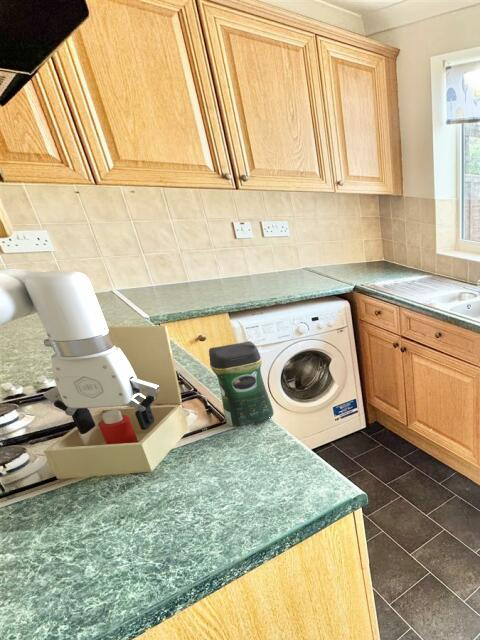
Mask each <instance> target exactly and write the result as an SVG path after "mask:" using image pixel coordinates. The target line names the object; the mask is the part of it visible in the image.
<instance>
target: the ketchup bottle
mask: <svg viewBox="0 0 480 640" xmlns="http://www.w3.org/2000/svg"><path fill="white" fill-rule="evenodd" d="M102 418H103V420H102V421H100V422H99V423H98V425H99V428H100V430H101V433H102V435H103V437H104V440H105V442H106V445H108V444H123V443H138V440H137V437H136V434H135V432H134V429H133V427H132V424H131V421H130V419H129V417H128V416H126V415H121V413H120V411H119V410H113V411H108V412H105V413H103V414H102Z"/></svg>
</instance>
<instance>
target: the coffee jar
mask: <svg viewBox="0 0 480 640" xmlns="http://www.w3.org/2000/svg"><path fill="white" fill-rule="evenodd" d="M208 356H209V366H210V369H211V371H212V372H213V373H214V374H215V376H216V377H217V382H218V385H219V389H220V394H221V395H220V396H221V402H222V410H223V415H224V419H225V422H226V424H227V425H229V426H230V427H234V428H235V427H236V428H238V427H244V426H248V425H252V424H254V425H256V424H259V423H263V422H266V421H268V420H270V419H271V418H272V417H273V416H274V414H275V412H274V408H273V405H272V403H271V400H270V397H269V394H268V392H267V388H266V386H265V385H266V384H265V383H264V380H263V376H262V371H261V367H262V357H261V354H260V352H259V349H258V347H257V345H256V344H255V343H253V342H252V341H251V340H248V341H244V342H237V343H231V344H226V345H222V346H221V345H219V346H215V347H210V348H209V349H208ZM269 417H270V418H269Z"/></svg>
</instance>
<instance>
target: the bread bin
mask: <svg viewBox="0 0 480 640" xmlns="http://www.w3.org/2000/svg"><path fill="white" fill-rule="evenodd" d="M150 408H151V411H152V414H153V416H154V423H153V424H152V425H151V426H150V427H149V428H148V429H147V430H142V429H141V428H140V425H139V422H138V420H137V417H136V415H135V412H136V411H137V409H135V408H133V407H132V406H128V407H127V406H123V407H101V408H99V409H98V410H97V411H95V412H94V413H93V414H91V416H92V418H93V420H94V423H95V427H94V428H92V429H91V430H90V431H89V432H87V433H86V434H80V432H79V430H78V428H77V427H76V426H75V427H73V428H72V429H71V430H69V431H68V432H67V433H66V434H64V435H62V437H60V438H59V439H57V440H55V441H54V442H53V443H52V444H51V445H49V446H48V447H47V448H45V449H43V453H44V456H45V458H46V459H47V461H48V463H49V465H50V467H51V469H52V471H53V474H54V475H55V477H56V479H57V480H63V479H74V478H75V479H76V478H88V477H100V476H101V477H102V476H111V475H125V474H139V473H150V472H151V473H152V472H153V471H154V470H155V469H156V468H157V467H158V465H159V464H160V463H161V462H162V461H163V460H164V459H165V457H166V456H168V454H169V453H170V452H171V450H173V448H174V447H175V446H176V445H177V444H178V442H179V441H180V440H181V439H182V438H183V437H184V435H186V434H187V432H188V431H189V430H190V426H189V423H188V420H187V417H186V413H185V411H184V406H183V404H164V405H150ZM113 410H119V411H120V413H121V415H126V416H128V417H129V419H130V421H131V424H132V427H133V429H134V432H135V434H136V437H137V440H138V443H123V444H108V445H106V442H105V440H104V437H103V435H102V433H101V430H100V428H99V425H98V423H99V422H100V421H102V420H103V418H102V414H103V413H105V412H108V411H113Z"/></svg>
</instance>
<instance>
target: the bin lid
mask: <svg viewBox="0 0 480 640" xmlns="http://www.w3.org/2000/svg"><path fill="white" fill-rule="evenodd" d="M107 327H108V330H109V332H110V335H111V337H112V340H113V342H114V345H115V347H119V348H120V349H121V351H122V352H123V354H124V355H125V357H126V358H127V360H128V361H129V363H130V365H131V367H132V369H133V371H134V373H135V375H136V377H137V379H140V380H143V381H146V382H149V383H152V384H156V385H158V386H159V387H160V388H159V391H158V394H157V398H156V399H155V400H154V401H153V403H152V404H151V405H173V404H181V403H183V400H182V394H181V390H180V385H179V384H180V383H179V380H178V379H179V378H178V374H177V369H176V365H175V360H174V354H173V349H172V345H171V339H170V335H169V329H168V326H167V325H132V326H131V325H126V326H125V325H123V326H122V325H121V326H119V325H118V326H115V325H113V326H107ZM141 394H142V395H143V396H145V397H147V392H146V391H144V390H141ZM135 400H136V399H135ZM136 401H137V400H136ZM138 402H139V401H138ZM140 403H141V402H140ZM127 406H128V407H131V406H130V405H129V404H126V405H123V406H122V407H127Z"/></svg>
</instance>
